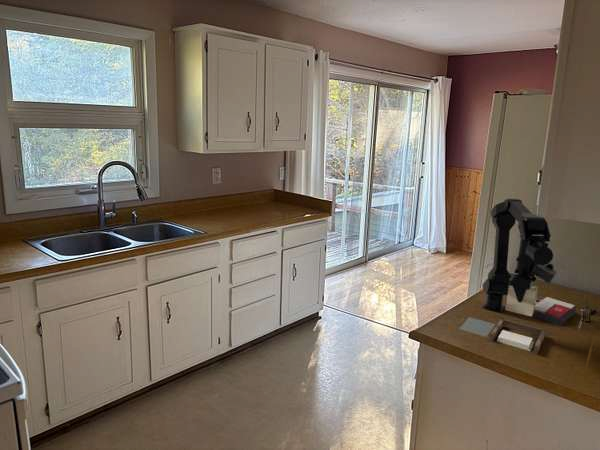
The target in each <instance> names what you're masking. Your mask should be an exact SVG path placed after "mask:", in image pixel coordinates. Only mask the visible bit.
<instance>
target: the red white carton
mask: <svg viewBox="0 0 600 450" xmlns="http://www.w3.org/2000/svg"><path fill="white" fill-rule="evenodd" d="M576 309H577V306H576V305H574V304H572V303H567V302H565V301H561V300H558V299H554V298H551V297H549V296H547V297H546V296H545V297H543V299H541V300H539V302H537V303H535V308H534V313H533V315H532V317H533V316H534V318H537V319H540V320H541V321H542V320H543V321H546V322H549V323H551V324H555V325H558V326H561V325H563V324H564V323H565V322H567V321H568V320H569V319H570V318H572V317H573V316H575V315H576V311H577V310H576Z"/></svg>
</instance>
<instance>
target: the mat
mask: <svg viewBox="0 0 600 450" xmlns="http://www.w3.org/2000/svg"><path fill="white" fill-rule="evenodd" d="M495 327H496V323H492V322H490V321H489V322H488V321H485V320H481V319H477V318H473V317H471V316H469V317H468V318H467V319H466V320H465V321H464V323H463V324H462V325H461V326H460V327H459V330H461V331H464V332H467V333H471V334H474V335H478V336H481V337H485V338H487V337H488V336H489V334H491V332H492V331H493V329H494V328H495Z"/></svg>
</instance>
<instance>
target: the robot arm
mask: <svg viewBox="0 0 600 450" xmlns="http://www.w3.org/2000/svg"><path fill="white" fill-rule="evenodd" d="M490 215H491V222H492V224H493V226H494V228H495V238H494V239H495V241H494V252H493V253H494V254H493V255H494V256H493V266H492V268H491V269H490V271H489V272H488V274H487V279H485V281H484V282H483V283H482V291H483V292H484V294H485V295H486V301H485V303H484V304H483V306H482V308H483V309H487V310H491V311H493V312H498V313H501V312H502V311H503V310H504V308H505V305H503V300H504V296H508V289H509V285H510V286H513V289H514V291H515V294H516V297H517V300H518V302H522V300H523V298H524V295H525V292H526V290H527V289H530V288H531V287H532V286H533V283H534V282H536V280H537V279H538V278H539V279H541V280H542V281H544V282H545V283H547V284H551V282H552V281H553V279H554V277H555V276H556V274H557V270H556V269H555V266H554V264H553V263H551V262H552V261H553V258H554V254H553V253H554V252H553V250H552V249H551V248H549V243H550V242H551V236H552V235H551V233H550V228H549V223H548V222H547V220H546V218H545V217H543V216H542V217H540V216H541V215H539V216H537V215H538V214H535V213H533V212H532V211H530V210H529V209H528V207H526V206H525V205H524V203H523V202H522V199H519V198H507V199H504V201H502V202H499V203H497V204H495V205H494V207H493V208H492V209H491V212H490ZM516 222H518V225H517V228H518V230H519V238H520V241H519V242H520V243H519V249H518V255H517V257H516V259H515V260H516V267H515V269H514V274H513V275H512V274H511V273H509V270H508V258H509V248H510V247H509V246H510V233H511V232H510V231H511V229H513V227H514V226H515V225H516Z"/></svg>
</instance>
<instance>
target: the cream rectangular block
mask: <svg viewBox="0 0 600 450" xmlns="http://www.w3.org/2000/svg"><path fill="white" fill-rule="evenodd" d="M538 288H539V287H538V286H534V285H532V287H531V288H530V289H527V290H526V292H525V295H524V298H523V300H522V302H518V300H517V297H516V294H515V291H514V289H513V286H510V285H509V289H508V295H506V303H505V309H504V310H505V311H509V312H511V313H516V314H519V315H523V316H527V317H533V316H532V315H533V313H534V308H535V305H536V302H537V296H538Z"/></svg>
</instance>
